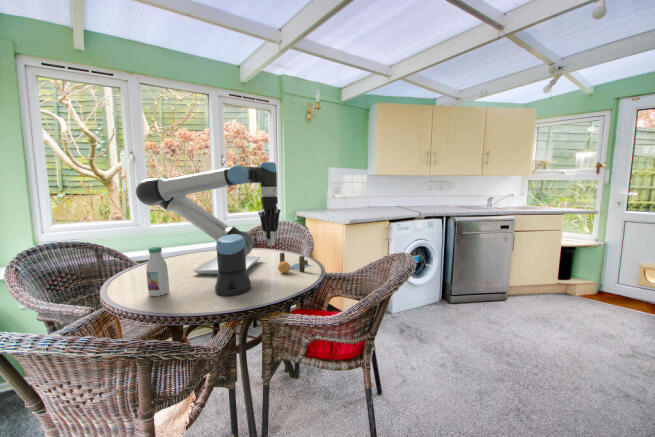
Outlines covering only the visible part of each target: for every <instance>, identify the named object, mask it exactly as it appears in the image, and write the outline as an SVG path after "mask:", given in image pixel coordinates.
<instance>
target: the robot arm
mask: <svg viewBox="0 0 655 437" xmlns="http://www.w3.org/2000/svg"><path fill="white" fill-rule="evenodd" d="M244 184H260V196H261V197H260V201H261V202H260V204H261V205H262V208H261V210H260V211H258V213H257V214H258V216H259V218H260V224H261V228H262V229H261V230H262V231H263V232H264V233H266V234H265V235H266V236H265V237H266V242H267V246H269V247H272V246H275V244H276V243H275V242H276V241H275V238H276V232H277V231H278V229H279V220H280V213H281V211H282V210H281V209H279V208H278V206H277V205H278V202H279V200H278V196H277V195H278V186H277V185H278V171H277V164H276V162H271V161H270V162H269V161H266V162H265V161H262V162H260V163H259V165H258V166H244V165H239V164H237V165H232V166H231V167H225V168H220V169H215V170H209V171H203V172H199V173H192V174H187V175H183V176H179V177H172V178H168V177H167V178H166V177H165V178H164V177H159V178H147V179H146V178H145V179H143V180H141V181H140V182H139V183H138V185H137V186H136V189H135V195H136V198H137V199H138V200H139V201H140V202H141V203H142V204H143V205H146V206H160V207H161V208H163V209H164V210H166V211H167V212H175V213H176V214H177V215H179V216H180V217H182V219H184V220H185V221H187V222H189V223H190V224H191V225H193V226H194V227H196V228H197V229H199V230H200V231H202V232H203V233H205V235H207V236H209V237H210V238H211V239H213V240H215V241H216V245H215V249H216V257H217V262H218V274H217V278H216V282H215V285H214V293H215V294H217V295H218V296H221V297H233V296H239V295H243V294H245V293H248V292H250V290H251V289H252V282H251V279H250V277H249V274H248V272H247V271H248V270H247V271H246V256H249V254H250V253H251V252H252V250H253V247H254V239H253V237H252V235H250V233H248V232H247V231H243V230H240V229H238V228H237V227H235V226H229V225H227V224H225V223H224V222H223V221H222V220H220V219H219V218H217V217H216V216H214V215H213V214H212V213H210V212H209V211H207V210H206V209H204V207H202V206H200V205H199V204H197V203H196V202H195V201H194V200H192V199H190V198H189V197H188V196H187V195H191V194H194V193H195V194H197V193H200V192H206V191H211V190H216V189H222V188H227V187H233V186H237V185H244Z"/></svg>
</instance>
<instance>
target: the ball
mask: <svg viewBox="0 0 655 437" xmlns="http://www.w3.org/2000/svg"><path fill="white" fill-rule="evenodd" d="M290 266H291V265H290V263H289V262H288V261H283V262H281V263H280V262H279V264H278V266H277V269H278V271H279V273H281V274H287V273H289V271H290V269H291V268H290Z"/></svg>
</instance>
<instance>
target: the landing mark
mask: <svg viewBox="0 0 655 437" xmlns="http://www.w3.org/2000/svg"><path fill="white" fill-rule="evenodd" d="M308 266H309V264H308V265H304V267H305V268H307V267H308ZM290 269H293V270H299V271H300V269H299V262H298V263H297V262H296V263H294V264H292V265H290Z"/></svg>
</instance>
